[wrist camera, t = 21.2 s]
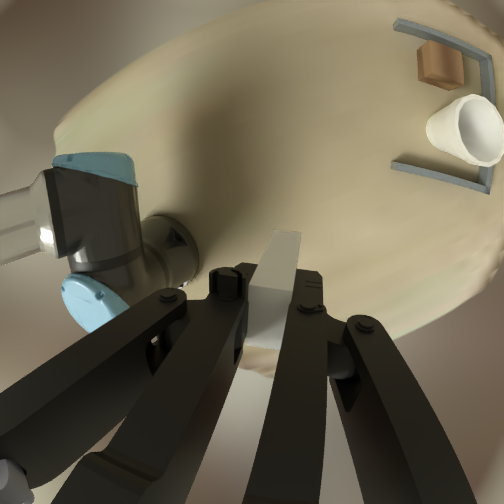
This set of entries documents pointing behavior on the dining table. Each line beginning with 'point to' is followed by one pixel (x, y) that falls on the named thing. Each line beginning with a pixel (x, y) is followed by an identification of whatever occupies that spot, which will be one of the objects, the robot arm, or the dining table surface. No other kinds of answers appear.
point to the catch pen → (487, 92)
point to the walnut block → (440, 65)
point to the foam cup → (468, 130)
